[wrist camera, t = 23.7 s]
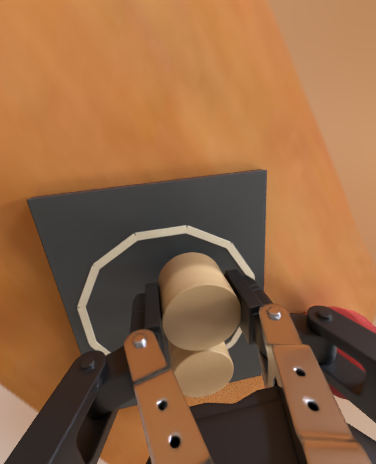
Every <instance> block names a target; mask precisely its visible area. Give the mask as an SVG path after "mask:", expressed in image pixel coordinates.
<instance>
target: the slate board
mask: <svg viewBox="0 0 376 464" xmlns="http://www.w3.org/2000/svg"><path fill="white" fill-rule="evenodd" d="M266 182H267V170H262V169H259V170H251V171H243V172H235V173H226V174H218V175H210V176H202V177H193V178H185V179H177V180H169V181H160V182H152V183H144V184H135V185H127V186H119V187H111V188H102V189H94V190H86V191H78V192H69V193H61V194H53V195H45V196H36V197H32V198H30V199H27V202H28V205H29V208H30V211H31V214H32V216H33V219H34V222H35V225H36V228H37V231H38V233H39V236H40V239H41V242H42V245H43V248H44V250H45V253H46V256H47V259H48V262H49V265H50V267H51V270H52V273H53V276H54V279H55V282H56V284H57V287H58V290H59V293H60V296H61V299H62V301H63V304H64V307H65V310H66V313H67V316H68V318H69V321H70V324H71V327H72V330H73V333H74V335H75V338H76V341H77V344H78V347H79V350H80V352H81V355H83V354H84V353H86V352H89V351H93V350H99V351H102V352H103V353H104V354H105V355H107V354H109V353H111V352H114V351H116V350H117V349H119V348H121V347H122V346H123V345H124V342H125V339H126V338H127V336H128V335H129V334H130V326H131V316H132V305H133V300H134V298H135V297H136V295H137V294H142V293H145V284H149V283H154V282H158V278H159V274H160V272H161V270H162V268H163V267H164V266H165V265H166V263H167V262H169V261H170V260H171V259H173V258H174V257H176V256H178V255H181V254H184V253H190V252H195V253H201V254H204V255H207V256H209V257H210V258H212V259H213V260H214V261H215V262H216V264H217V265H218V267H219V268H220V270H221V272H222V273H223V275H224V271H225V270H230V269H237V270H238V271H239V272H240V274H241V275H242V276H244V275H247V276H249V277H251V278H253V279H254V280H255V281H256V283H257V284H258V285H259V286H260V288H261V290H263V291H264V258H265V220H266ZM165 342H166V353H167V365H168V366H170V357H169V348H168V339H167V337H166V336H165ZM224 342H225V345H226V347H227V350H228V352H229V355H230V357H231V360H232V362H233V366H234V370H233V375H232V378H231V379H230V381H229V382H228V383H231V382H235V381H239V380H243V379H247V378H251V377H256V376H260V375H261V372H262V371H261V366H260V362H259V357H258V347H257V345H256V344H253V345H249V344H248V342H247V340H246V338H245V336H244V334H243V332H242V330H241V329H240V327H239V325H238V326H237V328H236V330H235V331H234V332H233V334H232V335H231V336H230V337H229V338H228V339H226V340H225V341H224ZM134 405H138V404H137V400H136V397H135V398H134V399H132V400H130V401H129V402H127V403H125V404H123V405H122V406H120V407H119V409H122V408H126V407H130V406H134Z"/></svg>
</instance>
